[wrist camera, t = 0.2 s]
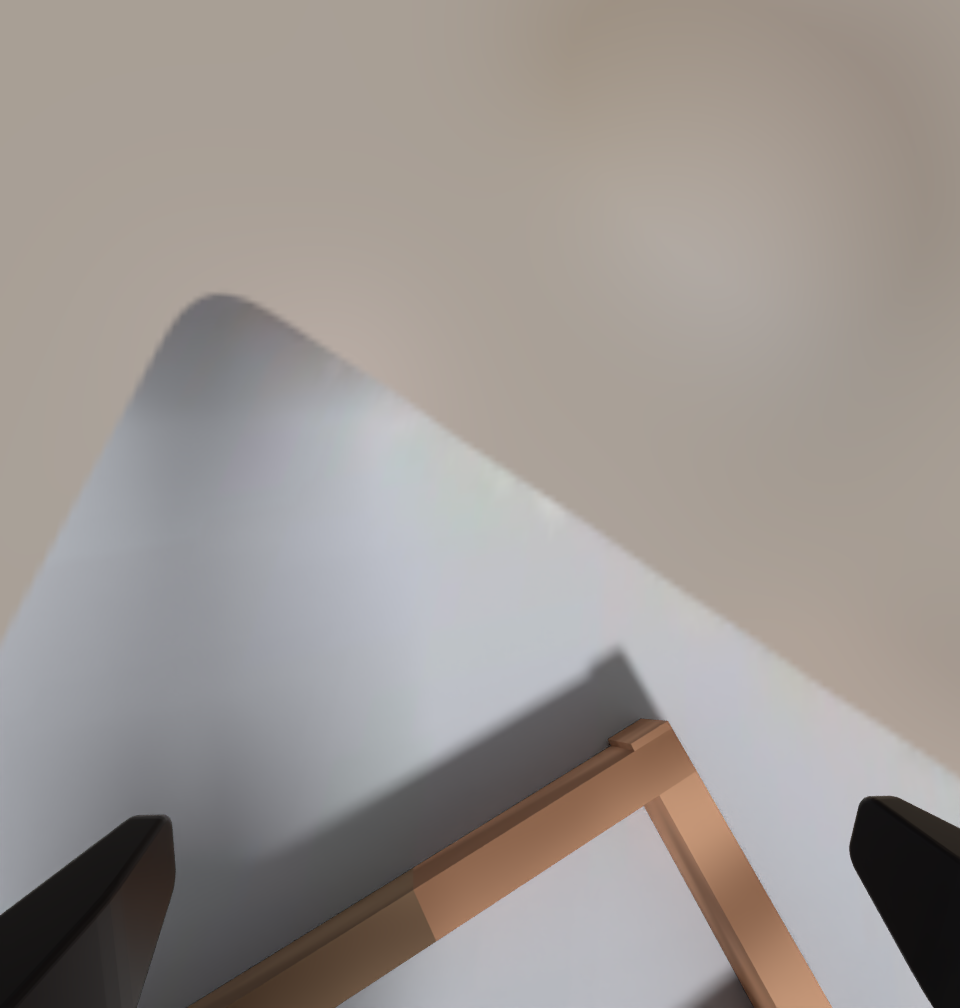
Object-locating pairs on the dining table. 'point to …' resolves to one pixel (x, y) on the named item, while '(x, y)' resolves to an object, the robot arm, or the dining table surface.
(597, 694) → the dining table surface
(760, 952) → the walled lane
